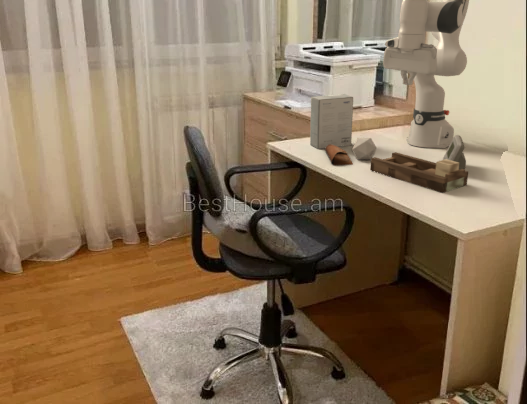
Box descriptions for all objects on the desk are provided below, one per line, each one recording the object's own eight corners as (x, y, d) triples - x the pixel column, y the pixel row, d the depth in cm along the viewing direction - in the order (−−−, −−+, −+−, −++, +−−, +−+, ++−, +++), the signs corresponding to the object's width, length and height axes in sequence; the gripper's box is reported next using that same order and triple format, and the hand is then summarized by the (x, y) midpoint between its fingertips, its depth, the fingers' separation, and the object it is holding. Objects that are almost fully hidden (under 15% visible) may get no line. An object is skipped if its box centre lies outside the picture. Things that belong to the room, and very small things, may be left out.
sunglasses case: (354, 164, 208) (346, 149, 206) (337, 174, 209) (329, 159, 207) (346, 151, 225) (338, 137, 223) (330, 160, 226) (322, 146, 224)
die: (369, 164, 210) (383, 142, 211) (349, 152, 210) (363, 130, 211) (365, 166, 219) (378, 145, 219) (346, 154, 219) (359, 133, 219)
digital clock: (443, 161, 213) (446, 133, 210) (468, 164, 210) (472, 135, 206) (435, 172, 200) (439, 142, 196) (462, 176, 196) (466, 145, 192)
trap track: (394, 164, 209) (395, 149, 207) (466, 184, 187) (468, 168, 185) (370, 170, 202) (371, 155, 200) (442, 192, 179) (444, 176, 177)
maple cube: (444, 173, 188) (446, 159, 186) (457, 177, 184) (459, 162, 182) (434, 176, 185) (436, 161, 183) (447, 180, 181) (449, 165, 180)
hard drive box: (342, 141, 240) (345, 93, 234) (351, 145, 234) (354, 96, 227) (309, 144, 235) (310, 96, 228) (317, 149, 229) (319, 99, 222)
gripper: (443, 44, 186) (438, 87, 191) (393, 40, 201) (390, 80, 206) (431, 45, 182) (426, 89, 187) (381, 41, 197) (378, 81, 202)
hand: (407, 84), depth 196 cm, fingers closed
